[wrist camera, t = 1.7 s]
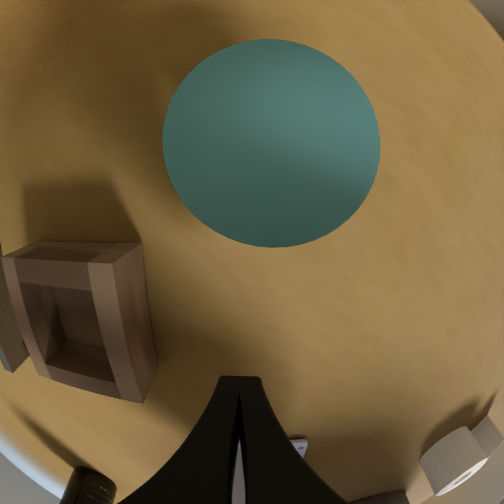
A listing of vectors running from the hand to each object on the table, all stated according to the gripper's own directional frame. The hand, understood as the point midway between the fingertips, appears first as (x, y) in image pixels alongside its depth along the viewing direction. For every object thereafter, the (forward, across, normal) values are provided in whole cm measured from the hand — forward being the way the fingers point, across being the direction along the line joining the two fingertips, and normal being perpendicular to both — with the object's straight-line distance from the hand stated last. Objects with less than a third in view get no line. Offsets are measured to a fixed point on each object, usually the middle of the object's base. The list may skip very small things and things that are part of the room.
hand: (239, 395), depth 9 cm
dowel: (+6, 0, -8) cm, 10 cm away
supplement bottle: (+6, +20, +30) cm, 37 cm away
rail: (+6, +19, 0) cm, 20 cm away
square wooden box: (+6, +9, 0) cm, 11 cm away
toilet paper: (+6, -30, +23) cm, 38 cm away
